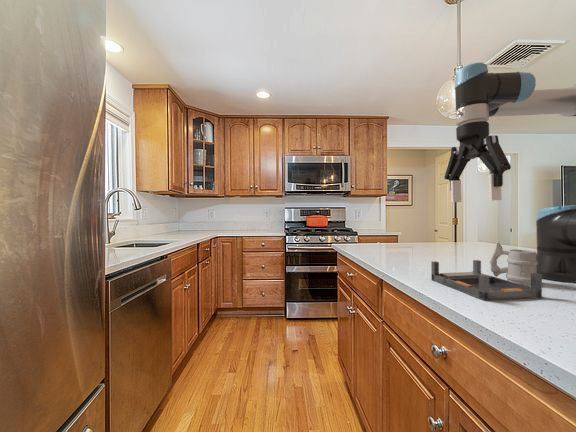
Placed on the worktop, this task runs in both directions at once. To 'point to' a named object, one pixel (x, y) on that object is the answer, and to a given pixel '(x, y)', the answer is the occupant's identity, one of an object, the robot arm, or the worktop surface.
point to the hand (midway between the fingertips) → (474, 201)
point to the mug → (515, 265)
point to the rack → (487, 284)
